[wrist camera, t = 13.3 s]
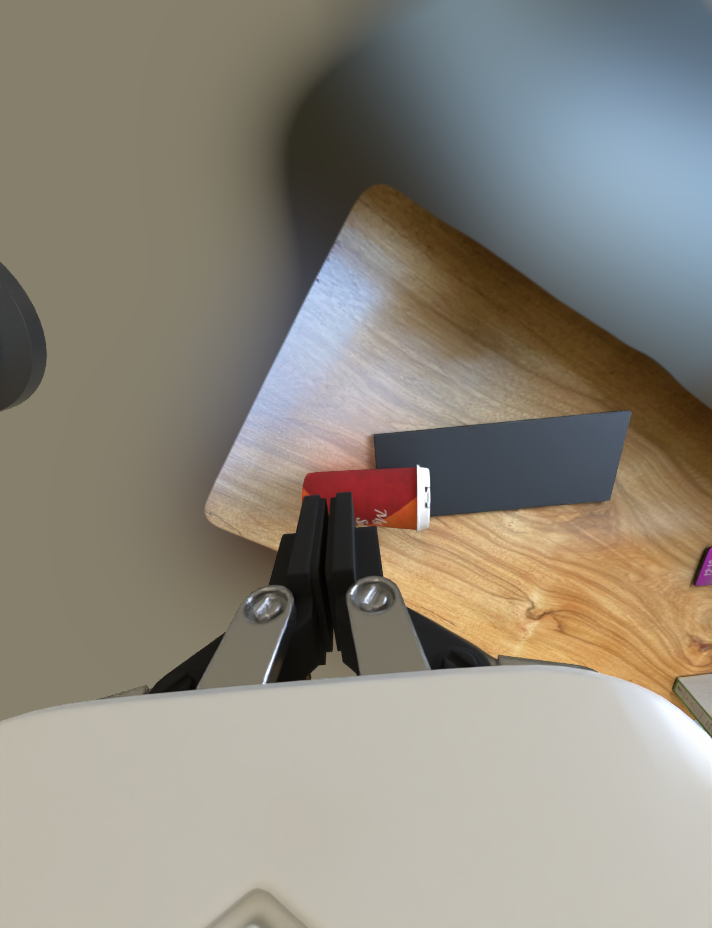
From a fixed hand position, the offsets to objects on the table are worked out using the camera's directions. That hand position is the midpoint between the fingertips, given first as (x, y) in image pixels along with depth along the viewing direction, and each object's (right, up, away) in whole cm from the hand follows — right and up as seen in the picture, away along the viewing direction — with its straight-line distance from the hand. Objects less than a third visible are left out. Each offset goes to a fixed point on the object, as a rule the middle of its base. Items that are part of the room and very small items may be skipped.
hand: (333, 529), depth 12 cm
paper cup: (-5, -2, +30) cm, 30 cm away
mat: (+18, +2, +32) cm, 37 cm away
